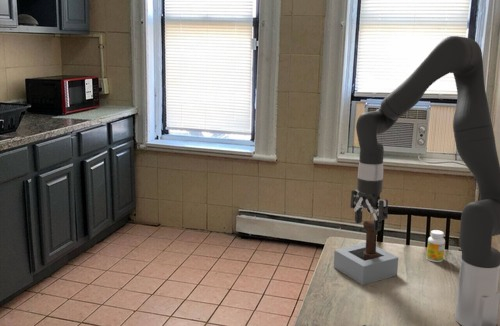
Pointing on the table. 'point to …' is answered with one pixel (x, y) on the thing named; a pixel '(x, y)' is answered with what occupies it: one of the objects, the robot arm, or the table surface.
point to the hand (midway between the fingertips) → (367, 226)
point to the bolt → (370, 241)
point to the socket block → (365, 264)
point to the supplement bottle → (436, 246)
